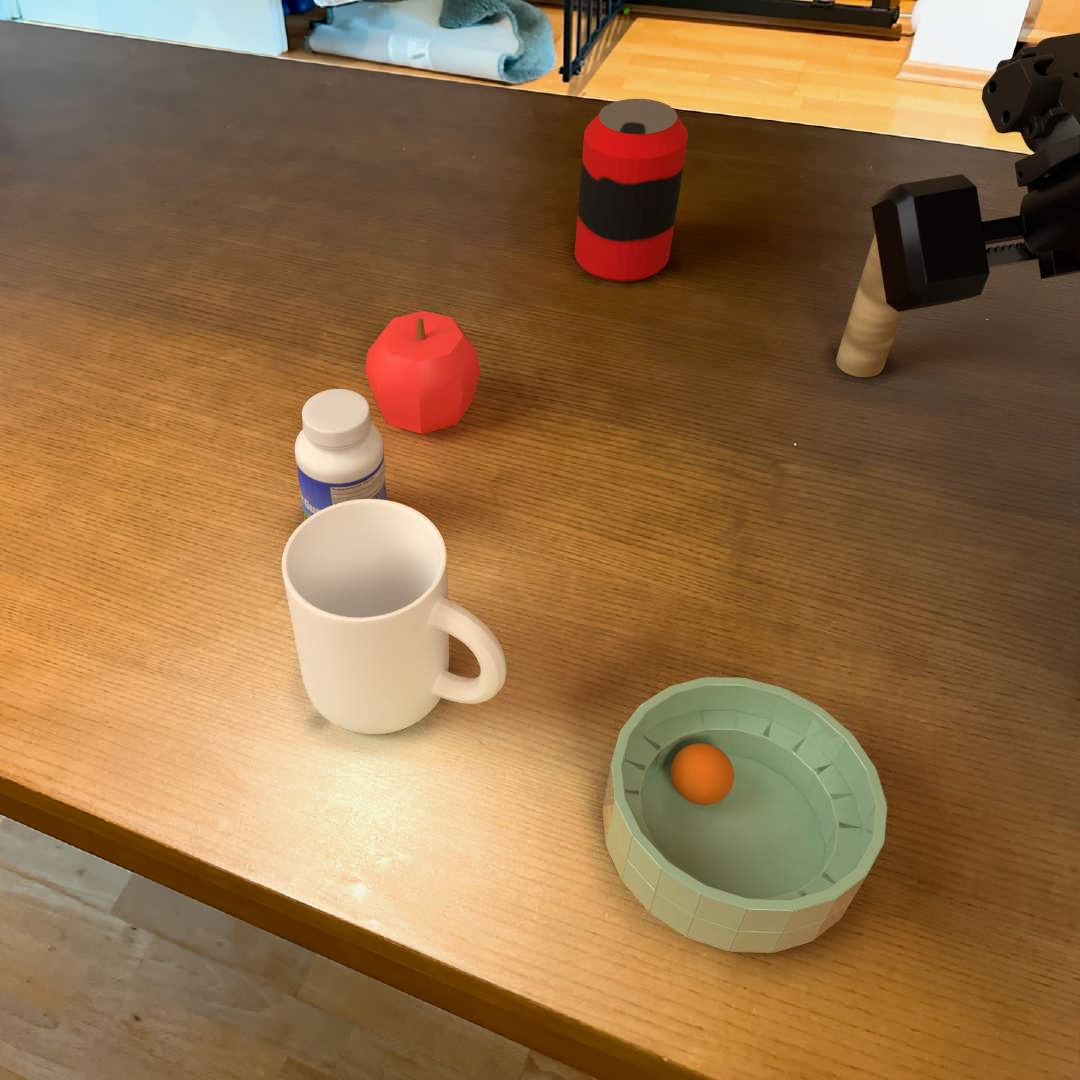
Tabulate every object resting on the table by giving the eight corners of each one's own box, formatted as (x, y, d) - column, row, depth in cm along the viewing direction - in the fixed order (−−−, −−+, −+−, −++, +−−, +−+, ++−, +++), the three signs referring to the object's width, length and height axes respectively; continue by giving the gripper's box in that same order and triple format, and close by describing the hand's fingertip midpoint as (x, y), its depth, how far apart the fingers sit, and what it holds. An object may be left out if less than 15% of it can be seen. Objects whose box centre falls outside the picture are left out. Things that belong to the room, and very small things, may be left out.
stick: (884, 354, 77) (943, 187, 67) (881, 381, 75) (941, 213, 65) (837, 346, 78) (888, 181, 68) (833, 373, 76) (885, 207, 66)
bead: (732, 773, 55) (743, 741, 52) (723, 824, 53) (734, 792, 50) (673, 756, 55) (681, 724, 53) (661, 805, 54) (669, 774, 51)
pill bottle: (295, 510, 71) (275, 395, 63) (371, 486, 72) (360, 370, 64) (322, 566, 67) (304, 451, 60) (402, 540, 68) (394, 423, 61)
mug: (534, 679, 60) (544, 555, 52) (466, 794, 55) (466, 677, 48) (352, 602, 65) (337, 479, 57) (276, 702, 60) (248, 582, 53)
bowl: (866, 770, 55) (895, 715, 51) (844, 995, 47) (876, 950, 44) (630, 706, 58) (641, 651, 55) (576, 906, 51) (585, 857, 47)
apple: (345, 412, 77) (335, 319, 71) (427, 363, 80) (424, 270, 74) (420, 466, 73) (415, 372, 67) (503, 412, 76) (506, 318, 70)
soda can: (567, 278, 86) (577, 136, 78) (582, 229, 91) (594, 90, 82) (663, 288, 84) (685, 144, 76) (673, 237, 89) (695, 96, 80)
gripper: (1343, -31, 49) (1086, 101, 64) (953, 29, 47) (788, 149, 63) (1377, 214, 49) (1113, 286, 65) (992, 279, 48) (818, 336, 63)
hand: (959, 260), depth 64 cm, fingers open, 9 cm apart
